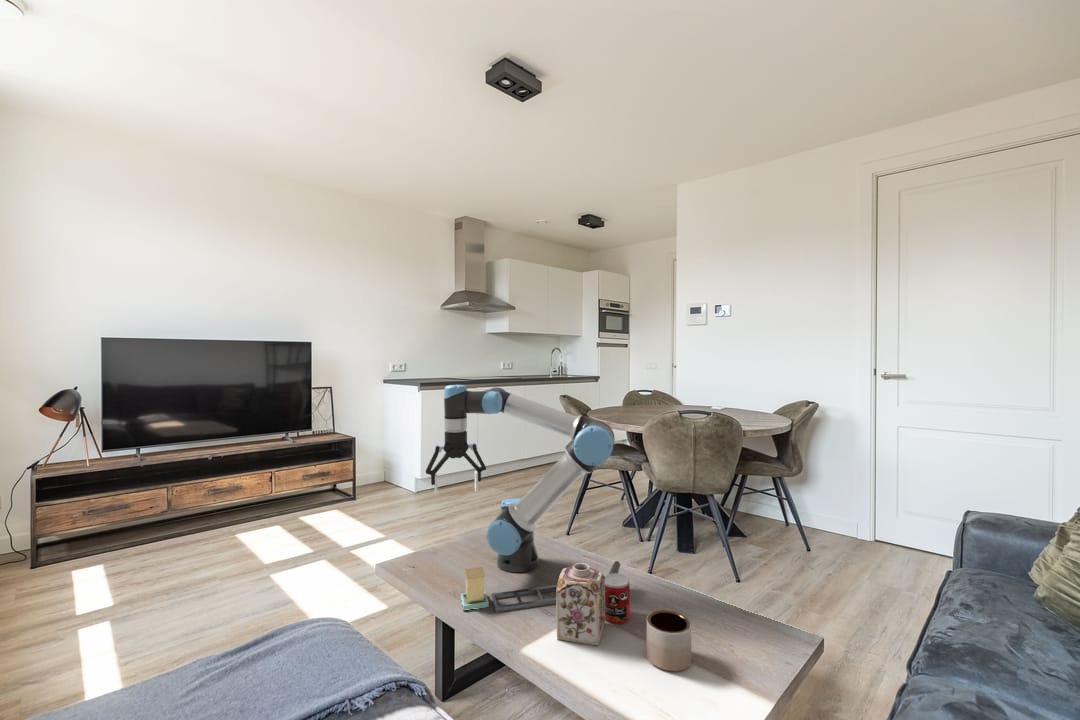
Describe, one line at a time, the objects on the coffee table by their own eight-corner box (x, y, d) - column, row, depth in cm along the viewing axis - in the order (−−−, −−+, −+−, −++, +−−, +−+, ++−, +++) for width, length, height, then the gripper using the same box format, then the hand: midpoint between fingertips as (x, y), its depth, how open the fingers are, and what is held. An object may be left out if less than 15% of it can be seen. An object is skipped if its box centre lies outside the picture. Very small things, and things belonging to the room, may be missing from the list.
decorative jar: (606, 622, 137) (605, 559, 137) (599, 647, 126) (599, 578, 125) (564, 616, 140) (564, 555, 140) (555, 640, 129) (554, 573, 129)
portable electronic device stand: (599, 584, 160) (599, 558, 160) (623, 587, 158) (623, 561, 157) (595, 597, 151) (595, 570, 151) (620, 600, 149) (620, 573, 149)
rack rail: (558, 588, 157) (558, 584, 157) (567, 602, 148) (567, 598, 148) (491, 597, 151) (491, 593, 151) (496, 612, 143) (496, 608, 143)
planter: (664, 678, 114) (664, 638, 113) (637, 652, 124) (637, 614, 123) (701, 666, 118) (701, 627, 118) (672, 641, 128) (672, 605, 128)
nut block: (482, 595, 151) (482, 566, 151) (485, 604, 146) (484, 575, 146) (464, 597, 150) (464, 569, 150) (466, 607, 145) (466, 577, 144)
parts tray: (485, 595, 153) (485, 590, 153) (488, 607, 145) (488, 602, 145) (460, 598, 151) (460, 593, 151) (463, 611, 143) (463, 606, 143)
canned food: (599, 621, 137) (599, 583, 137) (605, 607, 145) (605, 571, 145) (626, 627, 135) (626, 587, 135) (631, 612, 142) (631, 575, 142)
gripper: (490, 427, 172) (491, 486, 172) (417, 430, 166) (418, 492, 166) (493, 430, 165) (494, 492, 165) (418, 434, 158) (418, 498, 159)
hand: (456, 492), depth 165 cm, fingers open, 13 cm apart
